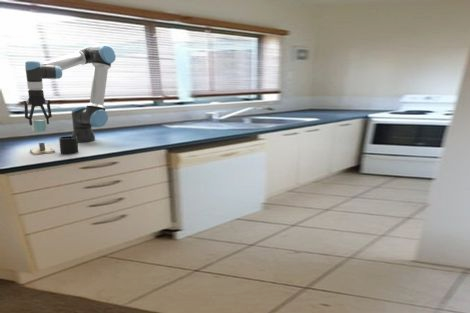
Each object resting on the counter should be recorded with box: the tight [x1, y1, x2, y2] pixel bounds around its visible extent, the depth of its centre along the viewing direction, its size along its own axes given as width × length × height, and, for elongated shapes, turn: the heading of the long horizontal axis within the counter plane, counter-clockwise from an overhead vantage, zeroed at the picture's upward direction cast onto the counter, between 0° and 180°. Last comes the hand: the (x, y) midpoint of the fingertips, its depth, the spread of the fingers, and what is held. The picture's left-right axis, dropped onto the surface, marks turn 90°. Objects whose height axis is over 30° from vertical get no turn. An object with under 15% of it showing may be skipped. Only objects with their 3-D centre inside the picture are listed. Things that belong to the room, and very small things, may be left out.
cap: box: [33, 119, 47, 133], centre depth 206 cm, size 6×6×6 cm
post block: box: [30, 142, 56, 156], centre depth 209 cm, size 11×11×5 cm
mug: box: [58, 135, 79, 155], centre depth 209 cm, size 9×12×9 cm
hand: (40, 130), depth 207 cm, fingers closed on cap, 6 cm apart
